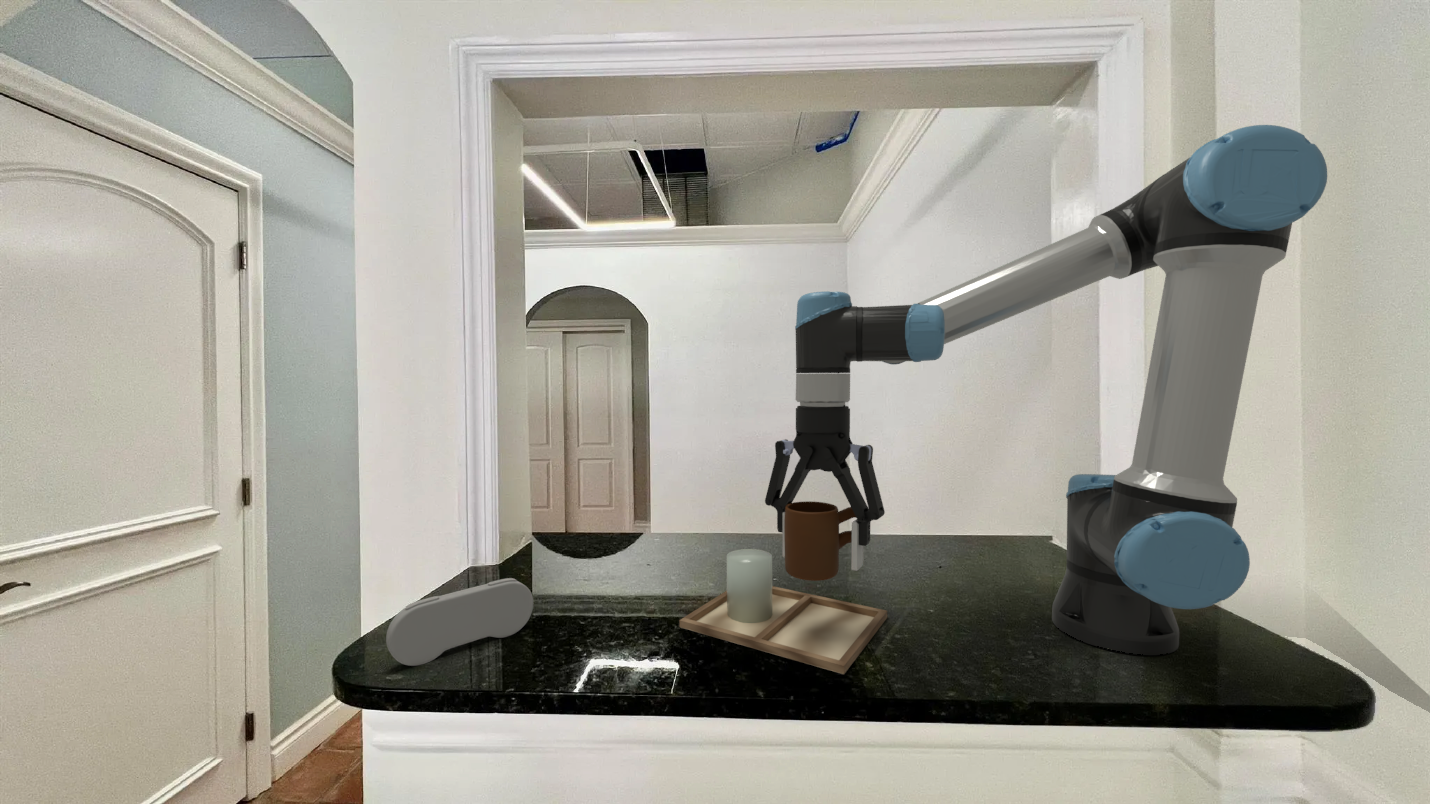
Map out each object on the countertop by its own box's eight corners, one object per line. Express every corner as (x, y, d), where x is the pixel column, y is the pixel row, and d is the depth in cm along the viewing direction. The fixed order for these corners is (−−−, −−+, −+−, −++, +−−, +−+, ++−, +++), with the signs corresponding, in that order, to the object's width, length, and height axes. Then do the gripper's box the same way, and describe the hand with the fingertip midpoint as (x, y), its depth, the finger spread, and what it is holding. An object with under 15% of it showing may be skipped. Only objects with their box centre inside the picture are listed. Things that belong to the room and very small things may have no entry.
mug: (858, 561, 84) (858, 499, 83) (877, 579, 76) (878, 511, 76) (779, 564, 83) (779, 501, 82) (791, 583, 75) (790, 514, 75)
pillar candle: (780, 610, 88) (779, 553, 87) (759, 627, 82) (758, 566, 82) (741, 600, 92) (740, 546, 91) (718, 616, 86) (718, 558, 85)
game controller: (528, 623, 87) (526, 570, 87) (534, 628, 85) (533, 574, 85) (386, 669, 74) (383, 607, 73) (390, 675, 72) (388, 612, 72)
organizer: (887, 625, 85) (887, 610, 85) (844, 683, 69) (844, 666, 69) (743, 592, 98) (743, 579, 98) (679, 634, 82) (679, 620, 82)
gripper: (910, 405, 76) (908, 567, 77) (764, 401, 88) (764, 542, 89) (895, 407, 70) (893, 584, 71) (740, 403, 82) (740, 554, 83)
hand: (821, 560), depth 80 cm, fingers closed on mug, 10 cm apart
